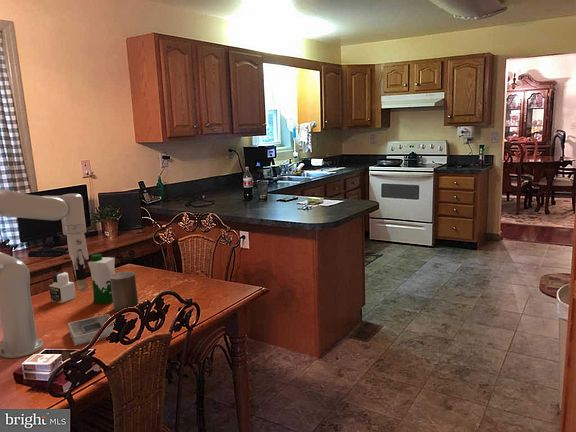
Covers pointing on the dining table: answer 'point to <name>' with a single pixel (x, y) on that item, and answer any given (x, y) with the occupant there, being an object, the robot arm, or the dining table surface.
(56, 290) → the medicine bottle
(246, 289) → the dining table surface
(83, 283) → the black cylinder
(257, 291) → the dining table surface
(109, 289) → the milk carton
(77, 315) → the dining table surface
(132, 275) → the pillar candle
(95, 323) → the tin
